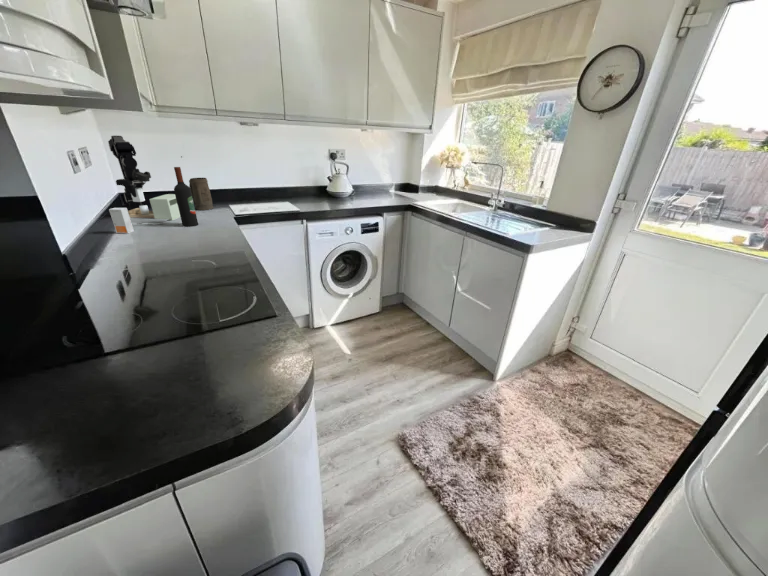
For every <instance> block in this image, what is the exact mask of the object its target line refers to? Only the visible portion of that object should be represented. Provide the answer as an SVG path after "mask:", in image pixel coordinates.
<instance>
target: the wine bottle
mask: <svg viewBox="0 0 768 576" xmlns="http://www.w3.org/2000/svg"><path fill="white" fill-rule="evenodd" d="M173 168H174V174H175V177H176V181H177V182H176V183H177V184H176V185H175V186H174V187H173V192H174V194H175V196H176V200H177V204H178V208H179V213H180V220H181V223H182V227H184V228H191V227H197V226H199V222H198V217H197V213H196V208H195V207H196V206H195V203H194V199H193V196H192V194H191V189H190V187H189V185H187V184H186V183H185V181H184V178H183V174H182V169H181V166H174V167H173Z"/></svg>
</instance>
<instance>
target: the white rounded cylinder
mask: <svg viewBox="0 0 768 576" xmlns="http://www.w3.org/2000/svg"><path fill="white" fill-rule="evenodd" d="M139 207H140V211H141V214H142V215H148V214H150V213H149V211H150V210H149V207H148V205H147V204H145V205H144V204H142V205H141V206H139Z"/></svg>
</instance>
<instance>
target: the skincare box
mask: <svg viewBox="0 0 768 576" xmlns="http://www.w3.org/2000/svg"><path fill="white" fill-rule="evenodd" d="M108 211H109V215H110V216H111V217H110V218H111V220H112V224H113V226H114V229H115V233H116V234H126V235H127V234H131V233H134V232H135V230H134V226H133V224H132V220H131V217H129V214H128V211H129V210H128V208H127V207H113V208H109V209H108Z"/></svg>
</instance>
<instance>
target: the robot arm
mask: <svg viewBox="0 0 768 576" xmlns="http://www.w3.org/2000/svg"><path fill="white" fill-rule="evenodd" d="M110 137H111V138H110V139H109V140H108V141H107V142H108V147H109V150H110V152H112V155H113V156H114V157H115V158H117V160H118V165H119V167H120V170H121V174H122V176H123V178H119V179H116V180H115V184H116V186H122V187H124V190H123V191H124V192H123V195H124V200H125V202H126V203H127V204H129V207H130V210H132V209H136V208H140V207H139V206H141V205H143V204H142V202H133V199H132V196H131V194H132V195H133V196H134V197H136V191H135V188H142V189H143V188H144V187H143V186H145V184H146V183H147V182H151V180H150V179H151V178H152V175H151V173H150V171H144V172H141V171H140V169H139V168H137V166H138V161H137V160H136V159H135V158H134V157H136V155H137V152H136V151H137V150H135V147H134V145H133V144H132V143H130V142H129V141H126V140H124V137H123V135H111V136H110Z"/></svg>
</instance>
